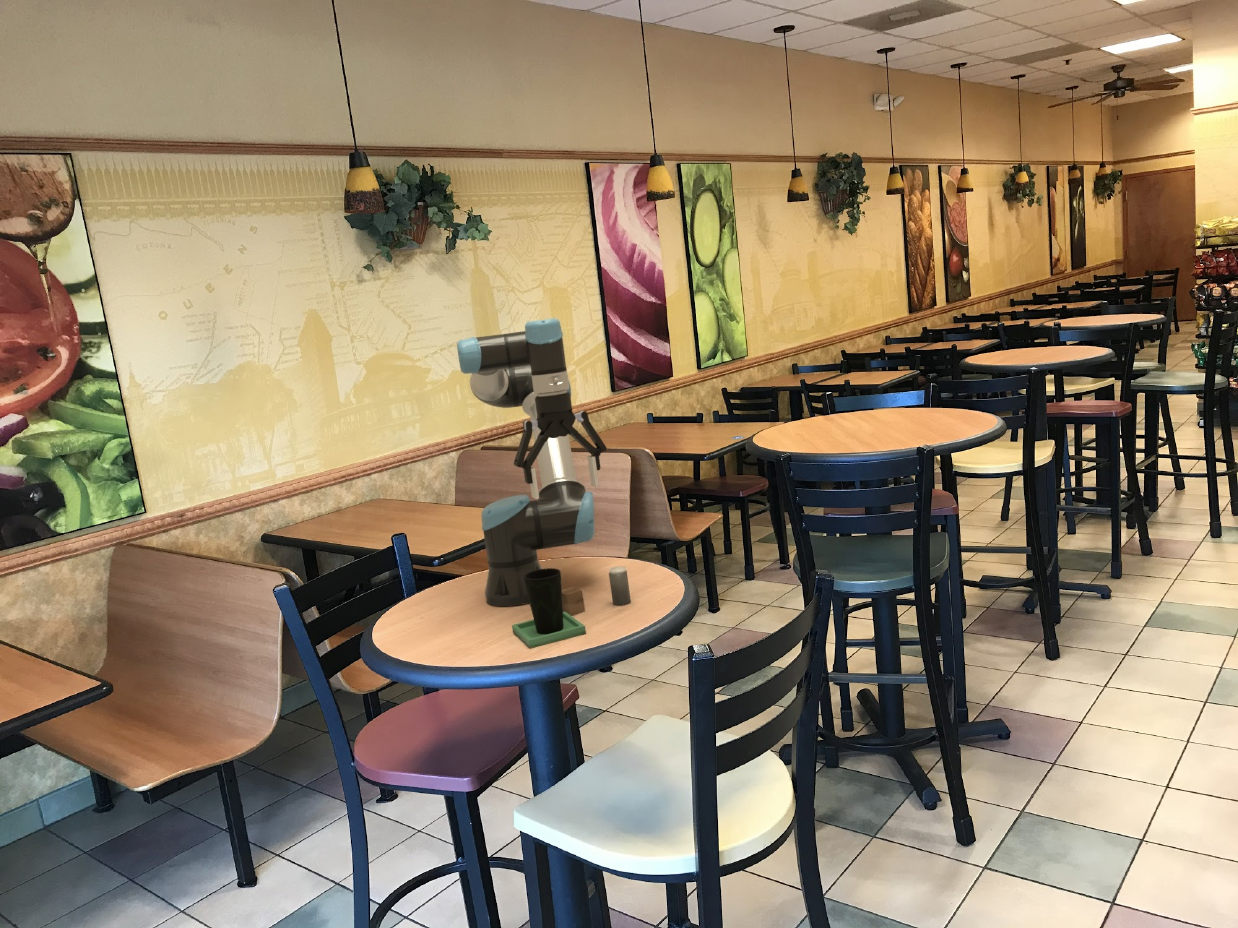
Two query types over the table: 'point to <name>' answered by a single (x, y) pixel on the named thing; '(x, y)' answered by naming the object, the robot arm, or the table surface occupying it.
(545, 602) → the cup
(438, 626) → the table surface
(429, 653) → the table surface
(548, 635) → the tray
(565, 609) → the walnut block
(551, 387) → the robot arm
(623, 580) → the pepper shaker
